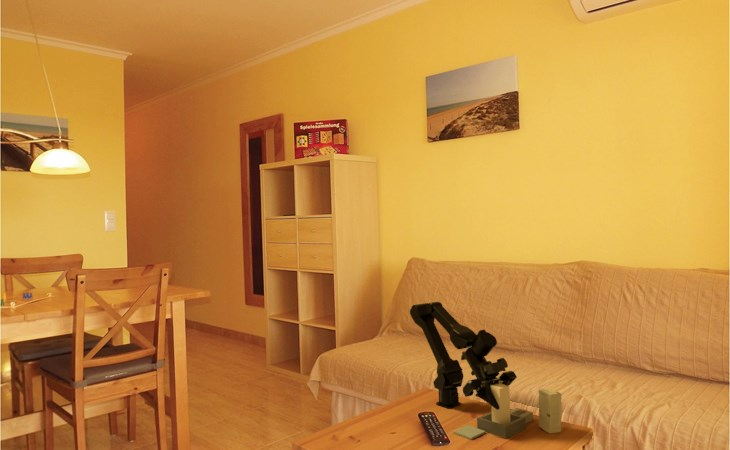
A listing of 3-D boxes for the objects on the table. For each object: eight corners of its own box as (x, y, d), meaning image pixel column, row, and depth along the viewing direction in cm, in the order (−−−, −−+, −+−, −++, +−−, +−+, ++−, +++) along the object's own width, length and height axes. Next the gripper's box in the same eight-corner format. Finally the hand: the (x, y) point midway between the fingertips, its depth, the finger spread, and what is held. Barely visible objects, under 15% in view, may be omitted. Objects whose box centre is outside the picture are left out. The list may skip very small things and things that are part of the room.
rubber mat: (453, 433, 168) (453, 431, 168) (467, 426, 173) (467, 424, 173) (471, 439, 163) (471, 437, 163) (485, 433, 168) (485, 431, 168)
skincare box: (538, 427, 171) (537, 388, 170) (550, 424, 172) (549, 386, 172) (550, 434, 165) (549, 394, 165) (562, 432, 166) (561, 392, 166)
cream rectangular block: (492, 426, 171) (490, 385, 171) (501, 423, 173) (500, 383, 173) (501, 430, 168) (499, 388, 167) (510, 427, 170) (509, 386, 169)
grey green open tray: (477, 428, 171) (477, 417, 171) (511, 413, 183) (511, 403, 183) (505, 438, 163) (505, 427, 163) (539, 421, 175) (539, 411, 175)
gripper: (467, 355, 169) (493, 400, 159) (511, 346, 178) (538, 388, 168) (452, 374, 176) (476, 418, 166) (495, 364, 185) (520, 406, 175)
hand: (503, 407), depth 169 cm, fingers closed on cream rectangular block, 4 cm apart
